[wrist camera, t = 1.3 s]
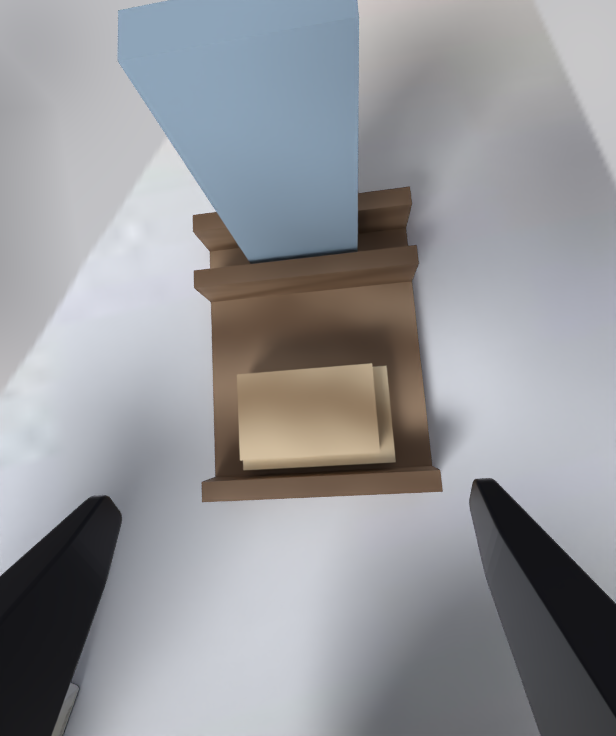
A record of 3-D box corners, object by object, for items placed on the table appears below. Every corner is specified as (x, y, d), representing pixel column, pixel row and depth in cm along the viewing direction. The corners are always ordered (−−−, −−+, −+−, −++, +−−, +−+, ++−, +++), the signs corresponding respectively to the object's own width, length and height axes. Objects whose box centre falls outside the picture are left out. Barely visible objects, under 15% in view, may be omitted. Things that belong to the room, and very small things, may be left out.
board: (357, 264, 23) (358, 16, 9) (258, 275, 23) (117, 61, 10) (355, 240, 23) (353, -37, 9) (257, 252, 24) (118, 10, 10)
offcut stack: (393, 460, 21) (398, 464, 18) (249, 467, 22) (236, 472, 19) (384, 368, 22) (388, 362, 19) (246, 380, 22) (233, 374, 20)
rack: (431, 482, 21) (445, 493, 18) (220, 492, 23) (198, 503, 19) (400, 199, 24) (407, 163, 21) (213, 223, 25) (192, 193, 22)
